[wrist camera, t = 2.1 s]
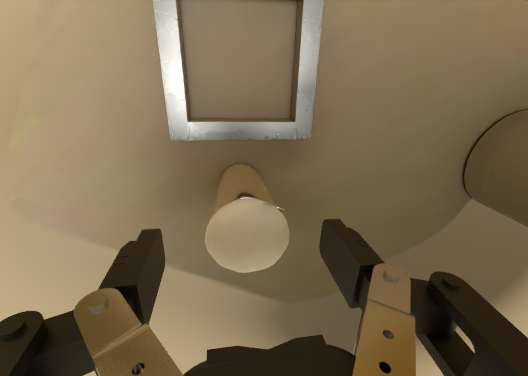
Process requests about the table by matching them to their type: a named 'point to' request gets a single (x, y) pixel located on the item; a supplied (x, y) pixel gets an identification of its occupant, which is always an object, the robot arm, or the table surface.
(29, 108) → the table surface
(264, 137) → the grey square frame
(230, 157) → the table surface
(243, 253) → the milkshake
